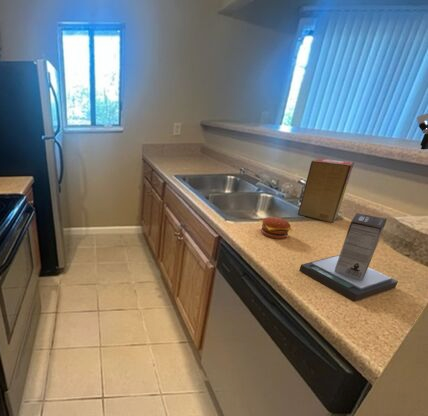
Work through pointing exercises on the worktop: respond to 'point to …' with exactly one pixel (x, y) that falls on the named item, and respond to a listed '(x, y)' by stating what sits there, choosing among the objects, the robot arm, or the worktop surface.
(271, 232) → the hamburger
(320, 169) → the food packaging
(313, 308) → the worktop surface
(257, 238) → the worktop surface
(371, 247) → the coffee box
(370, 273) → the scale
